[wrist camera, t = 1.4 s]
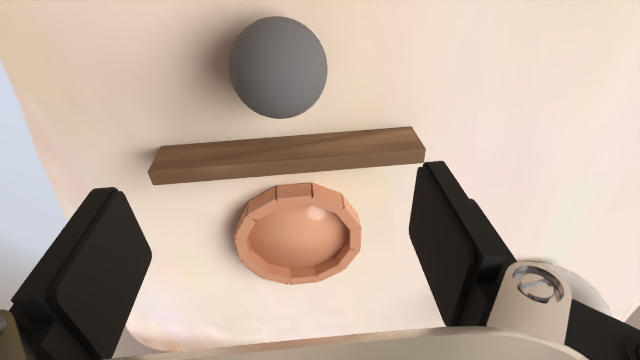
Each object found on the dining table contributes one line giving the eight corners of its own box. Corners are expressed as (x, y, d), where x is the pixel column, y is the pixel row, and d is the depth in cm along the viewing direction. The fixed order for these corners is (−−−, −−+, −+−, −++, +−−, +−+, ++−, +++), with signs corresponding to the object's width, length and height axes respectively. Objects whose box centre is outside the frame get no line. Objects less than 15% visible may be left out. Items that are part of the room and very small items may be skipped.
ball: (227, 10, 22) (211, 34, 17) (321, 4, 22) (331, 26, 18) (243, 99, 26) (234, 139, 21) (324, 93, 26) (333, 131, 21)
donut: (482, 278, 41) (529, 364, 33) (490, 259, 39) (543, 345, 31) (562, 272, 42) (628, 355, 34) (574, 253, 40) (647, 336, 32)
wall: (161, 146, 27) (147, 171, 25) (411, 126, 28) (425, 149, 26) (166, 159, 28) (153, 185, 25) (410, 139, 29) (423, 162, 26)
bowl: (227, 189, 31) (224, 203, 29) (358, 178, 31) (362, 191, 30) (249, 274, 37) (247, 288, 36) (356, 264, 38) (359, 278, 36)
